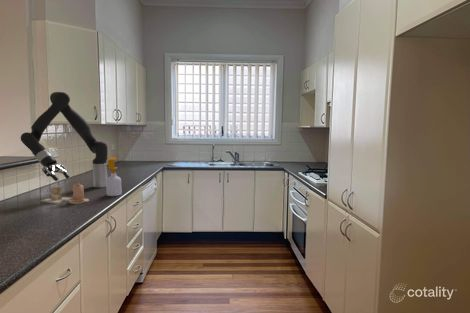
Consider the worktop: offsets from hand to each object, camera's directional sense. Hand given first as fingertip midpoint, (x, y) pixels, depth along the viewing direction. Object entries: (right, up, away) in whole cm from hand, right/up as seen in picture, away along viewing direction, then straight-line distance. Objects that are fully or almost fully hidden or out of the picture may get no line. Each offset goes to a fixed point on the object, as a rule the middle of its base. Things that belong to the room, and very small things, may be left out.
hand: (63, 178), depth 182 cm
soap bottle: (+24, -12, +17) cm, 32 cm away
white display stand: (-4, -13, 0) cm, 14 cm away
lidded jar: (+10, -13, -1) cm, 16 cm away
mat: (+10, -13, -1) cm, 17 cm away
